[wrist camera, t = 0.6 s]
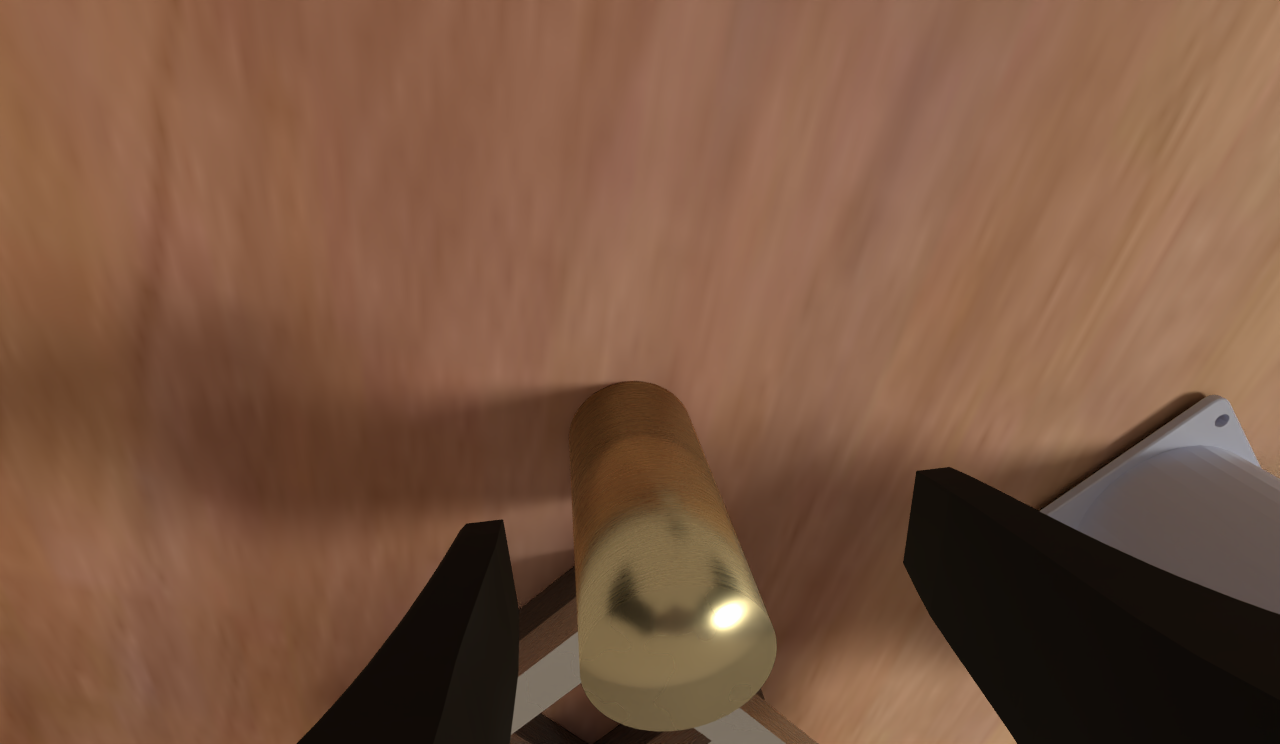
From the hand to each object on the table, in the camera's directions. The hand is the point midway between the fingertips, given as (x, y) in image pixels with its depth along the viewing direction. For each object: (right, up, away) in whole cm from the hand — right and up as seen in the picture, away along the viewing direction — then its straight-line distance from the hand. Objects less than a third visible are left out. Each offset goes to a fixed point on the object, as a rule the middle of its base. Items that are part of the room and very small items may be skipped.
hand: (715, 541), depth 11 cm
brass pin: (-2, +1, +10) cm, 10 cm away
